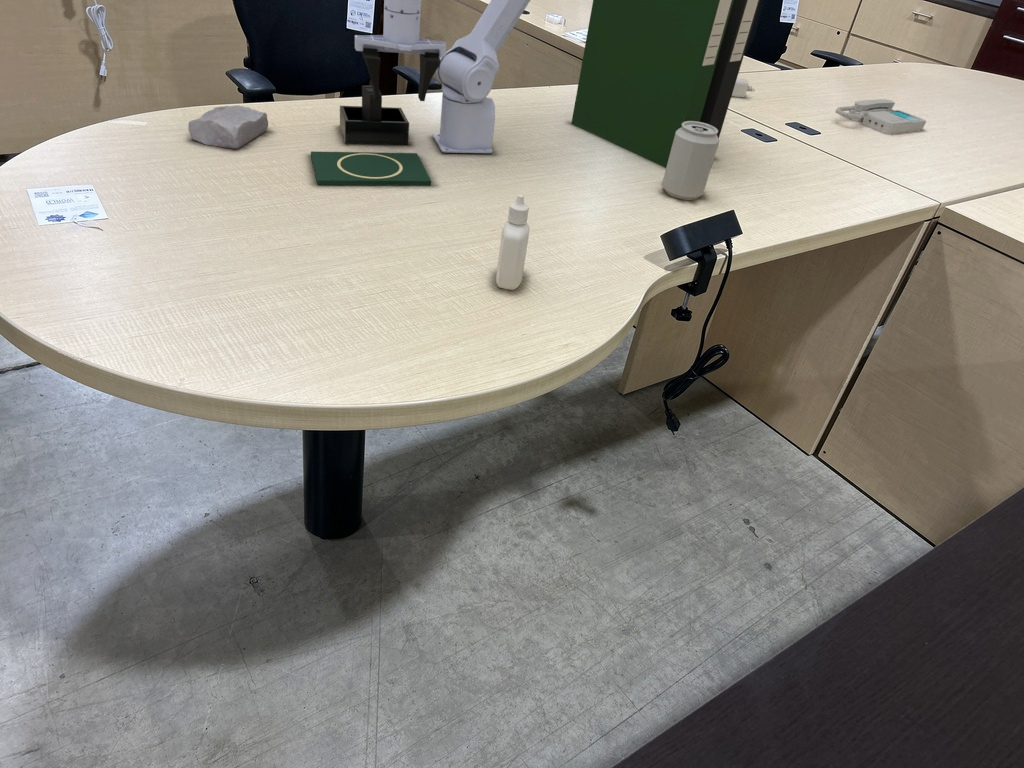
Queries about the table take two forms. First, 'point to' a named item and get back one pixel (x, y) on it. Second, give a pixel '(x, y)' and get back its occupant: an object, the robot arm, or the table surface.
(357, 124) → the pen tray
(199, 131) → the stone block
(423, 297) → the table surface
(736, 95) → the usb wall charger
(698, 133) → the can
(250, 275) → the table surface
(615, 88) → the binder
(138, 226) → the table surface
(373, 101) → the ink cartridge
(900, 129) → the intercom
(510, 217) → the eye dropper bottle
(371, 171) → the desk mat
